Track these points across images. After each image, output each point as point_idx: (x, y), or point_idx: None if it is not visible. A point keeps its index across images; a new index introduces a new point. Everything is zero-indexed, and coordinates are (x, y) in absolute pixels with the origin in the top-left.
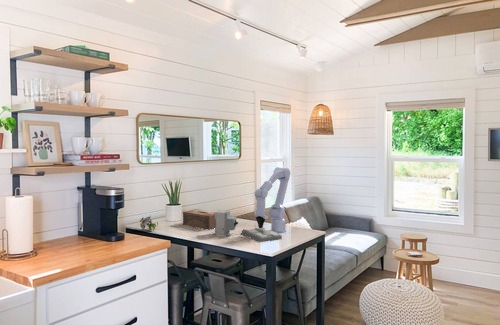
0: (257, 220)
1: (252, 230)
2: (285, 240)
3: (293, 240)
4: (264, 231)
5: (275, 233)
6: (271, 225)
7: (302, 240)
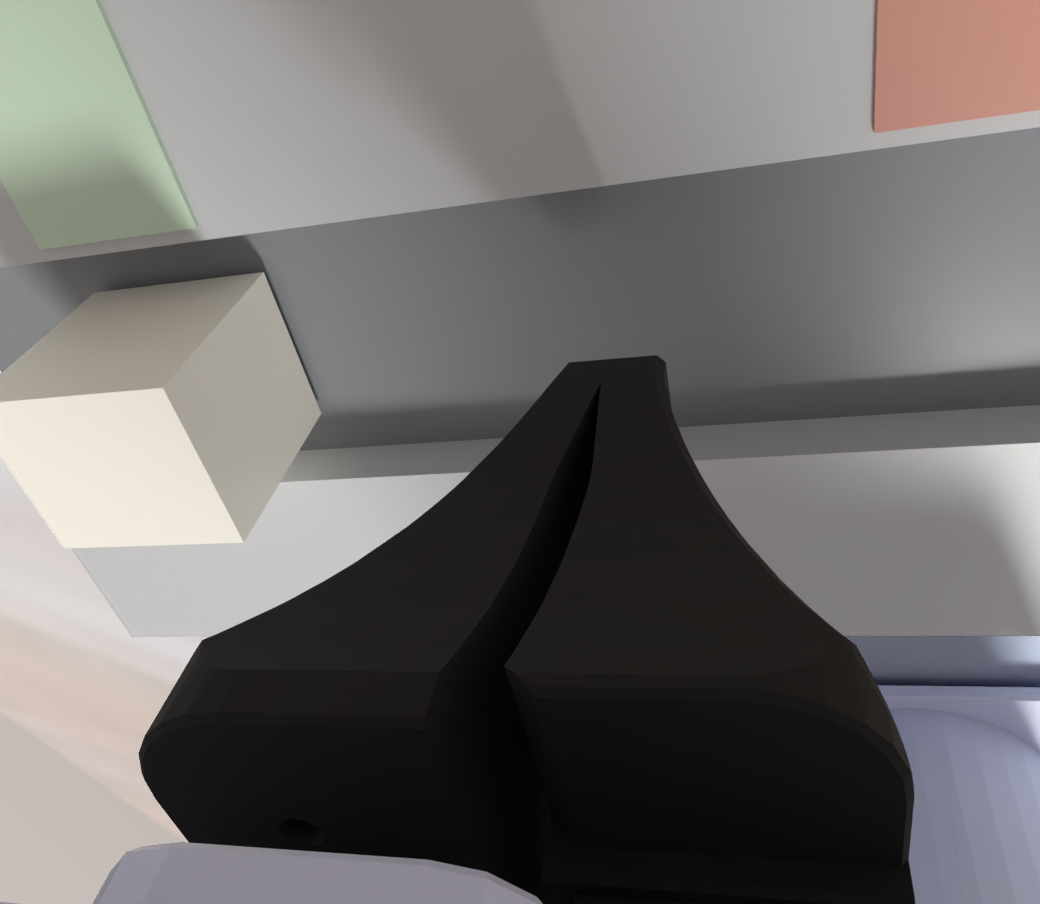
0: (606, 567)
1: (876, 31)
2: (69, 574)
3: (81, 675)
4: (138, 345)
5: (219, 585)
6: (1001, 861)
7: (92, 764)
